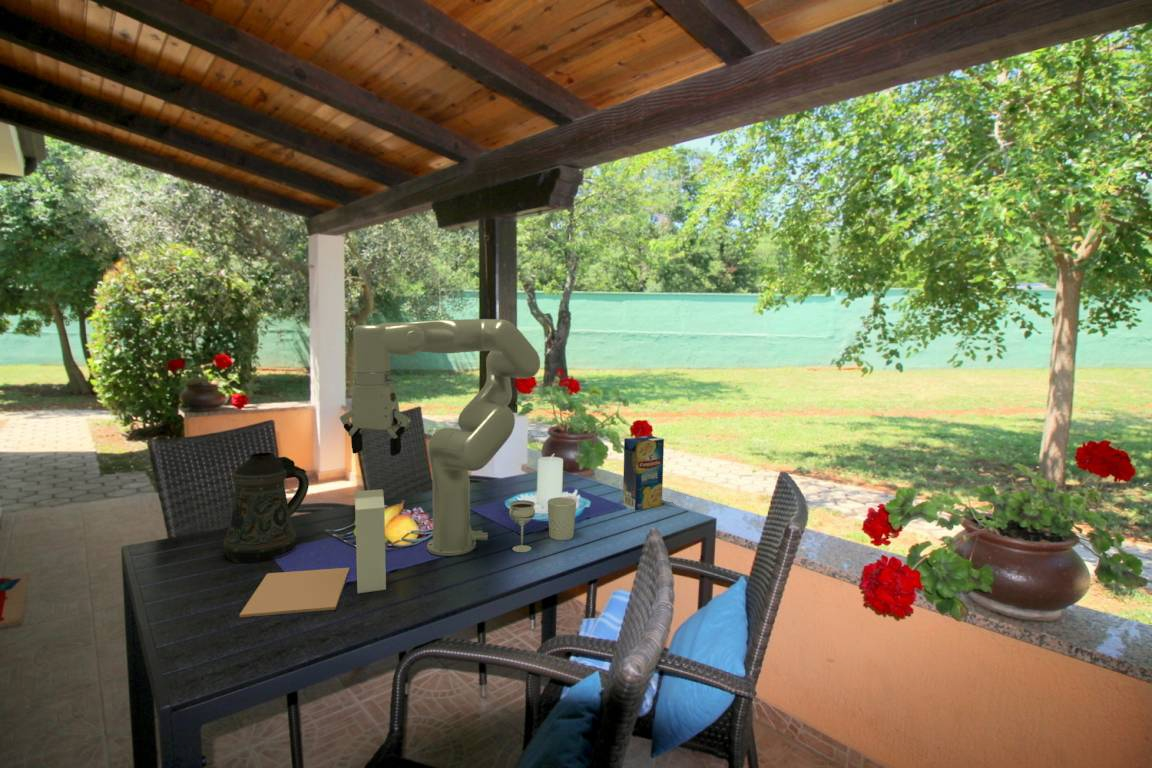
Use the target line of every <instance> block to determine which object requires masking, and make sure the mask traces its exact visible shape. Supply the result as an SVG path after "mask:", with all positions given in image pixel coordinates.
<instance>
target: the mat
mask: <svg viewBox="0 0 1152 768" xmlns="http://www.w3.org/2000/svg"><path fill="white" fill-rule="evenodd" d="M349 569H350V567H339V568H337V567H336V568H325V569H310V570H295V571H286V572H285V571H283V572H282V571H281V572H268V573H266V575H265V576H264V578H263V580H262V581H261V582H260V584H259V585H258V586H257V588H256V589H255V591H254V593H253V594H252V595H251V597H250V598H249V600H248V601H247V603H246V605H244V607H243V609H242V610H241V612H240V613H239V614H238V615H239V618H249V617H250V618H251V617H252V616H253V617H264V616H273V615H274V616H275V615H285V614H298V613H309V612H320V611H321V612H322V611H332V610H333V611H334V610H337V606H338V603H339V602H340V601H339V600H340V598H341V595H342V592H343V589H344V587H345V584H346V582H345V580H346V581H347V579H346V577H347V578H348V576H347V574H348V575H349V573H350V570H351V569H350V570H349ZM348 572H349V573H348Z"/></svg>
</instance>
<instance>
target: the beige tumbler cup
mask: <svg viewBox="0 0 1152 768" xmlns="http://www.w3.org/2000/svg"><path fill="white" fill-rule="evenodd" d="M576 509H577V501H576V499H574V498H571V497H565V496H559V497H553V498H550V499H548V500H547V519H548V520H547V521H548V533H549V534H548V536H549V538H551V539H553V540H555V541H556V540H557V541H568V540H571V539H573V538H574V532H575V531H574V530H575V525H576V524H575V523H576Z"/></svg>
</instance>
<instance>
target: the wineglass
mask: <svg viewBox="0 0 1152 768" xmlns="http://www.w3.org/2000/svg"><path fill="white" fill-rule="evenodd" d="M508 505H509V507H510V508H509V510H508V514H509V517H510V519H511V520H512V521H513V522H514V523H516V524H518V525H519V526H520V544H519V545H515V546H513V547H512V550H513V551H514V552H518V553H527V552H529V551H531V550H532V547H531V546H530V545H526V544H523V543H524V542H523V541H524V526H525V525H526V524H527V523H530V522H531V521H532V520H533V518H534V517H535V514H536V513H535V512H536V510H535V507H534V506H535V502H534V501H532V500H531V501H530V500H526V499H525V500H523V499H521V500H519V499H518V500H514V501H511V502H510V503H509V504H508Z"/></svg>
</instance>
